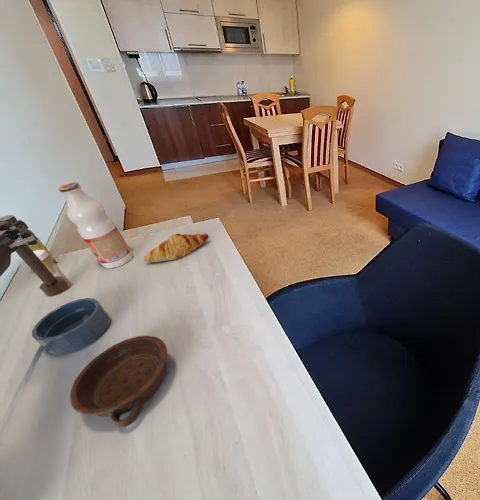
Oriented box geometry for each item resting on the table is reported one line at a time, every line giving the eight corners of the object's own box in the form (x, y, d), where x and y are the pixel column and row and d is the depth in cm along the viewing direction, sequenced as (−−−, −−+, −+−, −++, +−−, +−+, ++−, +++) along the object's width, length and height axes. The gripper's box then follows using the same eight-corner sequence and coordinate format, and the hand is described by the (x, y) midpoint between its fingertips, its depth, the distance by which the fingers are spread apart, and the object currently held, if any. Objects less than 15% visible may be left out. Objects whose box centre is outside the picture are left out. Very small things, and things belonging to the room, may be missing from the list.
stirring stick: (43, 299, 69) (-20, 231, 58) (50, 287, 72) (-8, 222, 62) (66, 292, 70) (8, 225, 59) (72, 281, 73) (18, 216, 63)
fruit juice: (123, 267, 101) (72, 190, 85) (96, 270, 101) (39, 193, 85) (139, 251, 109) (94, 177, 93) (113, 253, 109) (64, 180, 93)
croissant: (152, 276, 102) (142, 265, 95) (142, 253, 105) (132, 241, 98) (215, 250, 110) (210, 238, 104) (204, 230, 114) (199, 217, 107)
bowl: (39, 364, 71) (21, 349, 68) (59, 325, 81) (44, 309, 78) (105, 342, 75) (91, 326, 71) (116, 307, 85) (104, 291, 82)
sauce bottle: (35, 267, 106) (-9, 218, 95) (57, 259, 110) (17, 210, 98) (36, 275, 102) (-10, 224, 91) (58, 266, 106) (17, 216, 94)
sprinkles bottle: (53, 294, 93) (22, 260, 85) (56, 286, 96) (26, 252, 88) (71, 288, 94) (42, 254, 86) (73, 281, 98) (45, 247, 90)
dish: (167, 330, 76) (158, 317, 73) (185, 397, 61) (175, 384, 58) (85, 370, 69) (71, 356, 66) (82, 458, 53) (64, 445, 50)
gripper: (1, 240, 50) (41, 201, 64) (-110, 266, 47) (-43, 219, 60) (32, 274, 55) (64, 231, 68) (-67, 301, 51) (-13, 250, 64)
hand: (14, 226), depth 64 cm, fingers closed on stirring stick, 2 cm apart
